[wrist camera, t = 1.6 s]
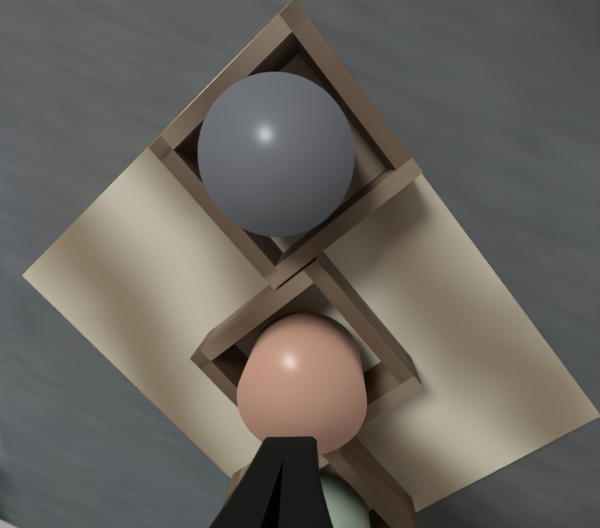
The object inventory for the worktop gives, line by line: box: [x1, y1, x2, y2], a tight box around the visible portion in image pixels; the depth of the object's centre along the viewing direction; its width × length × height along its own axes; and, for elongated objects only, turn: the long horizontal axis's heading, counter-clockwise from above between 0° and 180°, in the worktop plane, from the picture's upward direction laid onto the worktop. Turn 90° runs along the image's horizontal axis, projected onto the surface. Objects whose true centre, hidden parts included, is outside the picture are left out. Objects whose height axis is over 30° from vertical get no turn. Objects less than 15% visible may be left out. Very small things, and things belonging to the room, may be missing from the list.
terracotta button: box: [237, 311, 367, 455], centre depth 13 cm, size 4×4×3 cm
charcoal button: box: [198, 72, 355, 237], centre depth 11 cm, size 4×4×3 cm
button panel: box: [22, 0, 600, 528], centre depth 15 cm, size 16×21×3 cm
